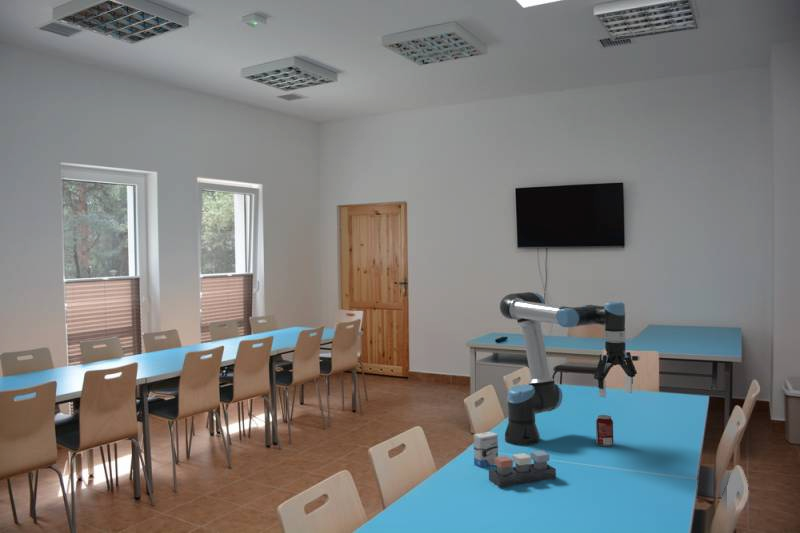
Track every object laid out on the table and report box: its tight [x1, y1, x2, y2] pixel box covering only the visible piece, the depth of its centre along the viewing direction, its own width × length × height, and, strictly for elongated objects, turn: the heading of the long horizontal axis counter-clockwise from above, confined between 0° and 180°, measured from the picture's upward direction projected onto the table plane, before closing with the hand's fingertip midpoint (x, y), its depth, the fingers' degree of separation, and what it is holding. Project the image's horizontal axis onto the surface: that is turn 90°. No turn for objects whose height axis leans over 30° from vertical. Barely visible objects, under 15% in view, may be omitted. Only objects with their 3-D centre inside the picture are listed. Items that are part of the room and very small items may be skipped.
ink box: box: [473, 431, 499, 468], centre depth 241 cm, size 8×5×12 cm, turn 118°
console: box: [488, 463, 557, 489], centre depth 224 cm, size 23×8×4 cm, turn 109°
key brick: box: [494, 455, 514, 476], centre depth 222 cm, size 5×5×5 cm
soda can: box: [595, 414, 614, 448], centre depth 261 cm, size 7×7×12 cm
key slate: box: [530, 450, 550, 470], centre depth 227 cm, size 5×5×5 cm
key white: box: [512, 452, 532, 473], centre depth 224 cm, size 5×5×5 cm
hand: (615, 394), depth 243 cm, fingers open, 13 cm apart
